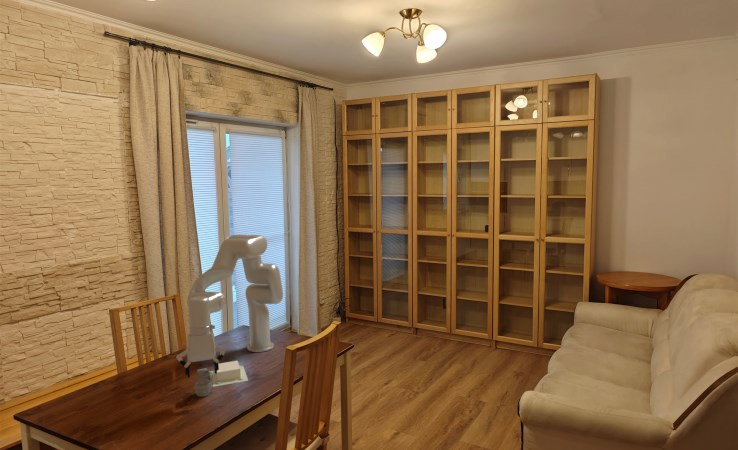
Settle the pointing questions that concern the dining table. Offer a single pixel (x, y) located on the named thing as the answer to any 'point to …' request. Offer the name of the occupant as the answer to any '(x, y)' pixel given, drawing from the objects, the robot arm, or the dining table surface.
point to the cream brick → (228, 371)
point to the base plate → (218, 383)
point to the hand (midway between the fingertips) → (202, 374)
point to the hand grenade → (203, 383)
